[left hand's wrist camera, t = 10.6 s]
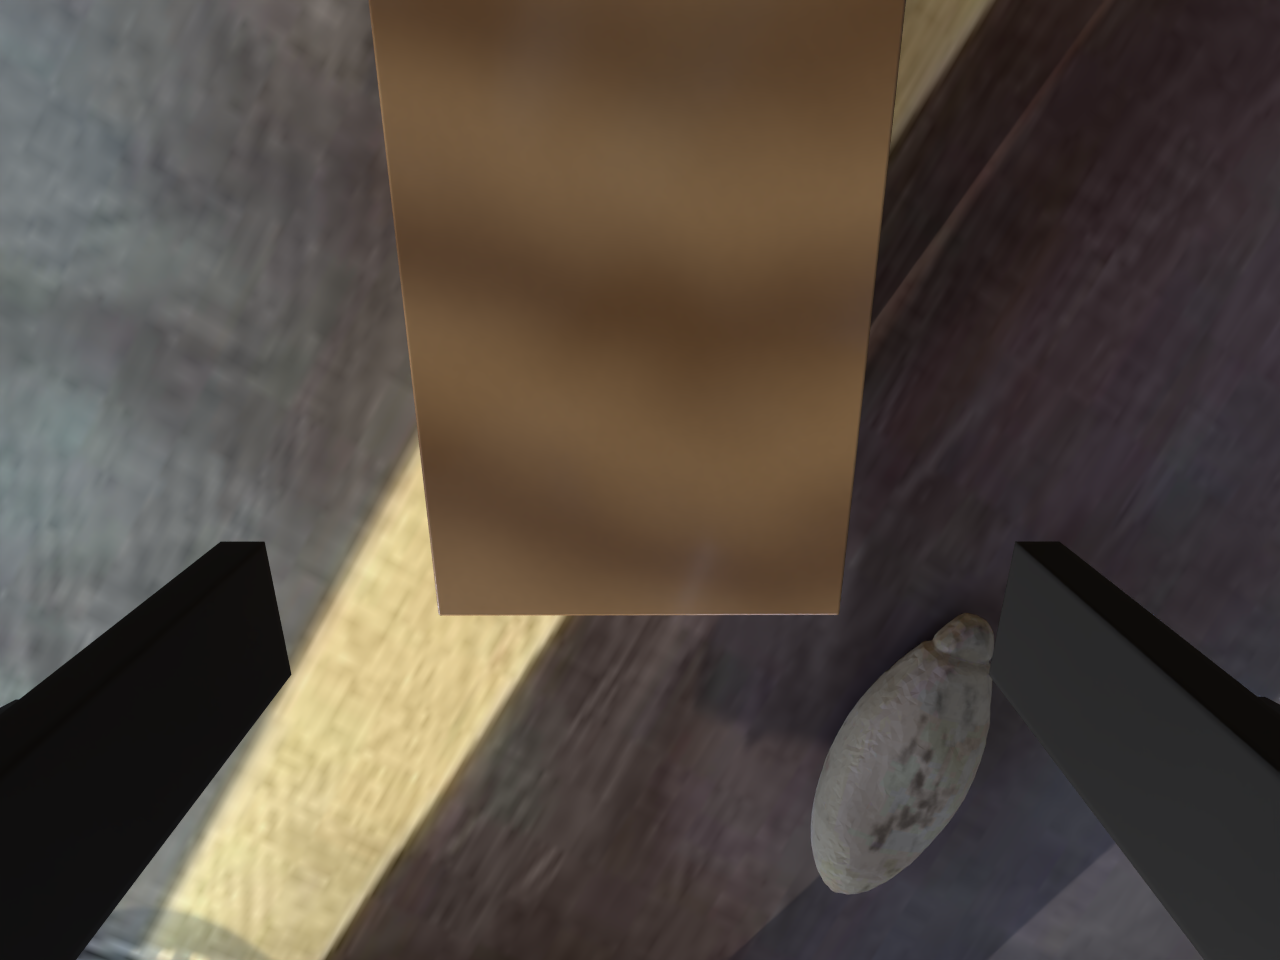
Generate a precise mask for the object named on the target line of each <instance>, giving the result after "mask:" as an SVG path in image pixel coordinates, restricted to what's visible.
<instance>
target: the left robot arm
mask: <svg viewBox="0 0 1280 960" xmlns="http://www.w3.org/2000/svg"><path fill="white" fill-rule="evenodd" d="M290 676H291V670H290V665H289V660H288V655H287V650H286V645H285V640H284V636H283V631H282V626H281V621H280V616H279V611H278V606H277V601H276V596H275V591H274V586H273V581H272V576H271V571H270V566H269V561H268V556H267V551H266V546H265V542H220V543H218V544H217V545H216V546H215V547H213V548H212V549H211V550H209V551H208V552H207V553H206V554H204V555H203V556H202V557H201V558H199V559H198V560H197V561H195V562H194V563H193V564H192V565H190V566H189V567H188V568H186V569H185V570H184V571H183V572H181V573H180V574H179V575H178V576H176V577H175V578H174V579H172V580H171V581H170V582H169V583H167V584H166V585H165V586H164V587H162V588H161V589H160V590H158V591H157V592H156V593H155V594H153V595H152V596H151V597H149V598H148V599H147V600H146V601H144V602H143V603H142V604H141V605H139V606H138V607H137V608H135V609H134V610H133V611H132V612H130V613H129V614H128V615H127V616H125V617H124V618H123V619H121V620H120V621H119V622H118V623H116V624H115V625H114V626H112V627H111V628H110V629H109V630H107V631H106V632H105V633H104V634H102V635H101V636H100V637H98V638H97V639H96V640H95V641H93V642H92V643H91V644H90V645H88V646H87V647H86V648H84V649H83V650H82V651H81V652H79V653H78V654H77V655H75V656H74V657H73V658H72V659H70V660H69V661H68V662H67V663H65V664H64V665H63V666H61V667H60V668H59V669H58V670H56V671H55V672H54V673H53V674H51V675H50V676H49V677H47V678H46V679H45V680H44V681H42V682H41V683H40V684H38V685H37V686H36V687H35V688H33V689H32V690H31V691H30V692H28V693H27V694H26V695H24V696H23V697H22V698H21V699H19V700H14V701H12V702H10V703H8V704H6V705H5V706H3V707H1V708H0V960H76V959H77V958H78V956H79V955H80V954H81V952H82V951H83V950H84V948H85V947H86V946H87V944H88V943H89V942H90V940H91V939H92V938H93V936H94V935H95V934H96V932H97V931H98V930H99V928H100V927H101V926H102V924H103V923H104V922H105V920H106V919H107V918H108V917H109V915H110V914H111V913H112V911H113V910H114V909H115V907H116V906H117V905H118V903H119V902H120V901H121V899H122V898H123V897H124V895H125V894H126V893H127V891H128V890H129V889H130V887H131V886H132V885H133V883H134V882H135V881H136V879H137V878H138V877H139V875H140V874H141V873H142V872H143V870H144V869H145V868H146V866H147V865H148V864H149V862H150V861H151V860H152V858H153V857H154V856H155V854H156V853H157V852H158V850H159V849H160V848H161V846H162V845H163V844H164V842H165V841H166V840H167V838H168V837H169V836H170V834H171V833H172V832H173V830H174V829H175V828H176V827H177V825H178V824H179V823H180V821H181V820H182V819H183V817H184V816H185V815H186V813H187V812H188V811H189V809H190V808H191V807H192V805H193V804H194V803H195V801H196V800H197V799H198V797H199V796H200V795H201V793H202V792H203V791H204V789H205V788H206V787H207V785H208V784H209V783H210V782H211V780H212V779H213V778H214V776H215V775H216V774H217V772H218V771H219V770H220V768H221V767H222V766H223V764H224V763H225V762H226V760H227V759H228V758H229V756H230V755H231V754H232V752H233V751H234V750H235V748H236V747H237V746H238V744H239V743H240V742H241V741H242V739H243V738H244V737H245V735H246V734H247V733H248V731H249V730H250V729H251V727H252V726H253V725H254V723H255V722H256V721H257V719H258V718H259V717H260V715H261V714H262V713H263V711H264V710H265V709H266V707H267V706H268V705H269V703H270V702H271V701H272V699H273V698H274V697H275V696H276V694H277V693H278V692H279V690H280V689H281V688H282V686H283V685H284V684H285V682H286V681H287V680H288V678H289V677H290ZM989 676H990V677H991V678H992V680H993V681H994V682H995V684H996V685H997V686H998V688H999V689H1000V690H1001V692H1002V693H1003V694H1004V696H1005V697H1006V698H1007V699H1008V701H1009V702H1010V703H1011V705H1012V706H1013V707H1014V709H1015V710H1016V711H1017V713H1018V714H1019V715H1020V717H1021V718H1022V719H1023V721H1024V722H1025V723H1026V725H1027V726H1028V727H1029V729H1030V730H1031V731H1032V733H1033V734H1034V735H1035V737H1036V738H1037V739H1038V741H1039V742H1040V743H1041V744H1042V746H1043V747H1044V748H1045V750H1046V751H1047V752H1048V754H1049V755H1050V756H1051V758H1052V759H1053V760H1054V762H1055V763H1056V764H1057V766H1058V767H1059V768H1060V770H1061V771H1062V772H1063V774H1064V775H1065V776H1066V778H1067V779H1068V780H1069V782H1070V783H1071V784H1072V786H1073V787H1074V788H1075V789H1076V791H1077V792H1078V793H1079V795H1080V796H1081V797H1082V799H1083V800H1084V801H1085V803H1086V804H1087V805H1088V807H1089V808H1090V809H1091V811H1092V812H1093V813H1094V815H1095V816H1096V817H1097V819H1098V820H1099V821H1100V823H1101V824H1102V825H1103V827H1104V828H1105V829H1106V830H1107V832H1108V833H1109V834H1110V836H1111V837H1112V838H1113V840H1114V841H1115V842H1116V844H1117V845H1118V846H1119V848H1120V849H1121V850H1122V852H1123V853H1124V854H1125V856H1126V857H1127V858H1128V860H1129V861H1130V862H1131V864H1132V865H1133V866H1134V868H1135V869H1136V870H1137V872H1138V873H1139V874H1140V875H1141V877H1142V878H1143V879H1144V881H1145V882H1146V883H1147V885H1148V886H1149V887H1150V889H1151V890H1152V891H1153V893H1154V894H1155V895H1156V897H1157V898H1158V899H1159V901H1160V902H1161V903H1162V905H1163V906H1164V907H1165V909H1166V910H1167V911H1168V913H1169V914H1170V915H1171V917H1172V918H1173V919H1174V920H1175V922H1176V923H1177V924H1178V926H1179V927H1180V928H1181V930H1182V931H1183V932H1184V934H1185V935H1186V936H1187V938H1188V939H1189V940H1190V942H1191V943H1192V944H1193V946H1194V947H1195V948H1196V950H1197V951H1198V952H1199V954H1200V955H1201V956H1202V958H1203V959H1204V960H1280V705H1279V704H1278V703H1276V702H1274V701H1272V700H1270V699H1268V698H1266V697H1257V696H1256V695H1254V694H1253V693H1252V692H1250V691H1249V690H1248V689H1247V688H1245V687H1244V686H1243V685H1242V684H1240V683H1239V682H1238V681H1236V680H1235V679H1234V678H1233V677H1231V676H1230V675H1229V674H1227V673H1226V672H1225V671H1224V670H1222V669H1221V668H1220V667H1219V666H1217V665H1216V664H1215V663H1213V662H1212V661H1211V660H1210V659H1208V658H1207V657H1206V656H1205V655H1203V654H1202V653H1201V652H1199V651H1198V650H1197V649H1196V648H1194V647H1193V646H1192V645H1190V644H1189V643H1188V642H1187V641H1185V640H1184V639H1183V638H1182V637H1180V636H1179V635H1178V634H1176V633H1175V632H1174V631H1173V630H1171V629H1170V628H1169V627H1168V626H1166V625H1165V624H1164V623H1162V622H1161V621H1160V620H1159V619H1157V618H1156V617H1155V616H1153V615H1152V614H1151V613H1150V612H1148V611H1147V610H1146V609H1145V608H1143V607H1142V606H1141V605H1139V604H1138V603H1137V602H1136V601H1134V600H1133V599H1132V598H1131V597H1129V596H1128V595H1127V594H1125V593H1124V592H1123V591H1122V590H1120V589H1119V588H1118V587H1116V586H1115V585H1114V584H1113V583H1111V582H1110V581H1109V580H1108V579H1106V578H1105V577H1104V576H1102V575H1101V574H1100V573H1099V572H1097V571H1096V570H1095V569H1094V568H1092V567H1091V566H1090V565H1088V564H1087V563H1086V562H1085V561H1083V560H1082V559H1081V558H1079V557H1078V556H1077V555H1076V554H1074V553H1073V552H1072V551H1071V550H1069V549H1068V548H1067V547H1065V546H1064V545H1063V544H1062V543H1060V542H1015V546H1014V551H1013V556H1012V561H1011V566H1010V571H1009V576H1008V581H1007V586H1006V591H1005V596H1004V601H1003V606H1002V611H1001V616H1000V621H999V626H998V631H997V636H996V640H995V645H994V650H993V655H992V660H991V665H990V670H989Z"/></svg>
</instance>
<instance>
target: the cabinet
mask: <svg viewBox="0 0 1280 960" xmlns="http://www.w3.org/2000/svg"><path fill="white" fill-rule="evenodd" d="M905 4H906V0H369V9H370V17H371V26H372V35H373V44H374V52H375V61H376V70H377V79H378V87H379V96H380V105H381V114H382V122H383V131H384V140H385V149H386V157H387V166H388V175H389V184H390V193H391V201H392V210H393V219H394V228H395V236H396V245H397V254H398V263H399V271H400V280H401V289H402V298H403V306H404V315H405V324H406V333H407V341H408V350H409V359H410V368H411V376H412V385H413V394H414V403H415V412H416V420H417V429H418V438H419V447H420V455H421V464H422V473H423V482H424V490H425V499H426V508H427V517H428V525H429V534H430V543H431V552H432V560H433V569H434V578H435V587H436V595H437V604H438V613H439V615H838V614H839V611H840V601H841V592H842V583H843V574H844V565H845V555H846V546H847V537H848V528H849V519H850V510H851V500H852V491H853V482H854V473H855V464H856V454H857V445H858V436H859V427H860V418H861V408H862V399H863V390H864V381H865V372H866V362H867V353H868V344H869V335H870V326H871V316H872V307H873V298H874V289H875V280H876V271H877V261H878V252H879V243H880V234H881V225H882V215H883V206H884V197H885V188H886V179H887V169H888V160H889V151H890V142H891V133H892V123H893V114H894V105H895V96H896V87H897V77H898V68H899V59H900V50H901V41H902V32H903V22H904V13H905Z"/></svg>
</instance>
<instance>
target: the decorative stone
mask: <svg viewBox="0 0 1280 960" xmlns="http://www.w3.org/2000/svg"><path fill="white" fill-rule="evenodd" d="M993 650H994V634H993V631H992V629H991V627H990V625H989V624H988V622H987V621H986V620H984V619H983V618H981V617H979V616H978V615H974V614H969V613H964V614H961V615H958V616H957V617H955V618H954V619H953V620H952V621H950V622H949V623H947V624H946V625H945V626H944V627H943V628H941V629H940V630H939V631H938V632H937V633H936V634H935V636H934V638H933V640H931V641H924V642H922V643H921V644H920V645H918V646H917V647H915V648H914V649H913V650H911V651H910V652H909V653H907V654H906V655H905V656H904V657H902V658H901V659H900V660H898V661H897V662H896V664H894V665H893V666H892V667H891V668H890V669H889V670H887V671H886V672H884V674H882V675H881V676H880V677H879V679H878V680H877V681H876V682H875V683H874V684H873V685H872V686H871V687H870V688H869V689H868V690H867V691H866V693H865V694H864V695H863V696H862V697H861V698H860V700H859V701H858V702H857V704H856V705H855V707H854V708H853V709H852V711H851V712H850V713H849V715H848V716H847V718H846V720H845V722H844V723H843V725H842V727H841V728H840V730H839V732H838V734H837V736H836V738H835V740H834V742H833V744H832V746H831V748H830V750H829V752H828V754H827V757H826V760H825V763H824V766H823V769H822V772H821V775H820V778H819V782H818V785H817V788H816V794H815V798H814V803H813V809H812V819H811V843H812V849H813V855H814V859H815V863H816V866H817V869H818V872H819V873H820V875H821V877H822V879H823V881H824V883H825V884H826V885H827V886H829V888H830V889H831V890H832V891H833V892H836V893H844V894H847V895H849V894H858V893H862V892H865V891H869V890H871V889H873V888H875V887H877V886H878V885H880V884H882V883H885V882H887V881H888V880H890V879H891V878H893V877H894V876H895V875H897V874H898V873H899V872H901V871H902V870H903V869H904V868H906V867H907V866H908V865H910V864H911V863H912V862H913V861H914V860H915V859H916V858H917V857H918V856H919V855H920V854H921V853H922V852H923V851H924V850H925V848H926V847H928V846H929V845H930V844H931V842H932V841H933V840H934V839H935V838H936V836H937V835H938V834H939V833H940V832H941V831H942V830H943V829H944V827H945V826H946V825H947V824H948V823H949V821H950V820H951V819H952V817H953V816H954V814H955V813H956V811H957V810H958V808H959V807H960V805H961V804H962V802H963V801H964V799H965V797H966V795H967V793H968V790H969V788H970V786H971V784H972V782H973V780H974V778H975V775H976V772H977V769H978V767H979V764H980V762H981V758H982V755H983V752H984V748H985V746H986V738H987V734H988V730H989V726H990V704H991V694H992V678H991V677H990V676H989V670H990V663H989V660H990V659H991V658H992V655H993Z"/></svg>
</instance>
